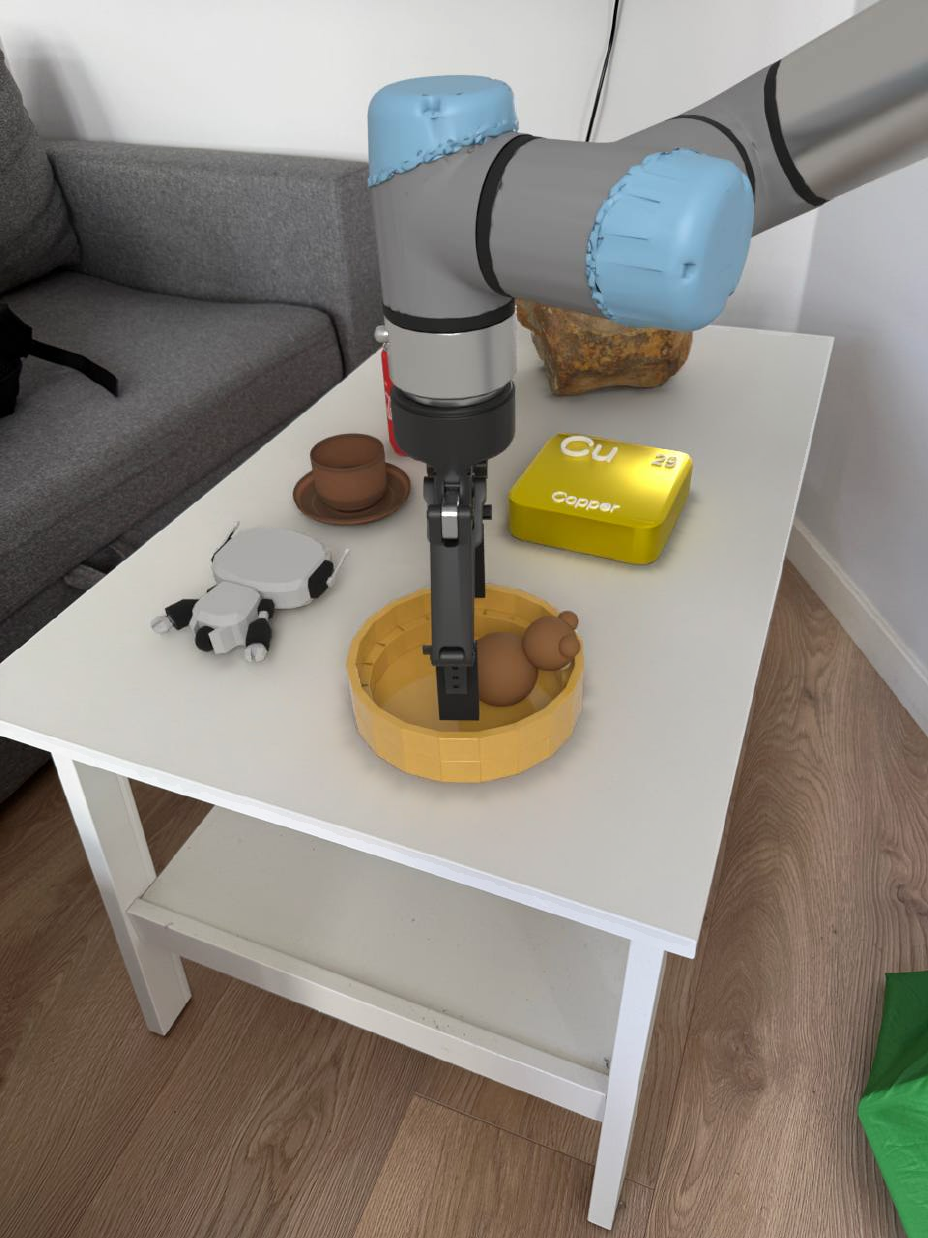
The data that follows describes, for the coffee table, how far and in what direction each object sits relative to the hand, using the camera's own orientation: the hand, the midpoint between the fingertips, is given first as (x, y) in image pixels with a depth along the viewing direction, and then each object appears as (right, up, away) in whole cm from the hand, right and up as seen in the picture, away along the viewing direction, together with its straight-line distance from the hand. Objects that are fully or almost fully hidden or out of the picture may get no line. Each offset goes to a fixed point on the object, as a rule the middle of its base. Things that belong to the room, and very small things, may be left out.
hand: (464, 651), depth 68 cm
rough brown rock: (+16, +32, +48) cm, 60 cm away
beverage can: (-6, +22, +36) cm, 42 cm away
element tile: (+13, +13, +24) cm, 30 cm away
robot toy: (-18, +3, +13) cm, 23 cm away
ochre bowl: (0, -4, +3) cm, 5 cm away
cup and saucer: (-11, +14, +27) cm, 32 cm away
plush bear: (0, -3, +2) cm, 3 cm away
